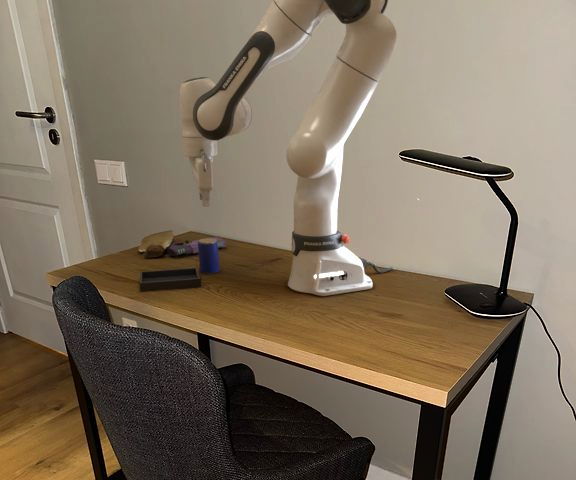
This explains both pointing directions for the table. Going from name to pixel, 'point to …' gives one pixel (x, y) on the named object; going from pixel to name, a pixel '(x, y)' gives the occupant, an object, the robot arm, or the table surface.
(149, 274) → the tray
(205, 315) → the table surface
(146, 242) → the stone tool
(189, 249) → the toy gun
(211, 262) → the can
